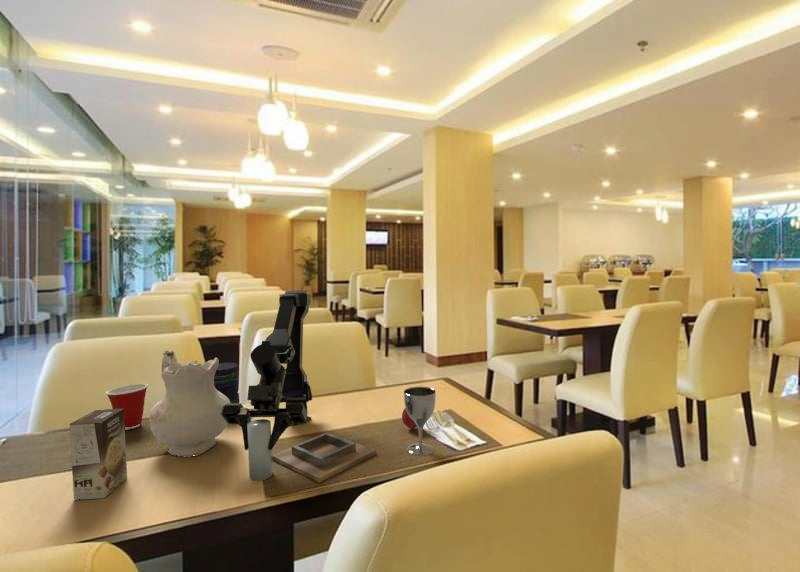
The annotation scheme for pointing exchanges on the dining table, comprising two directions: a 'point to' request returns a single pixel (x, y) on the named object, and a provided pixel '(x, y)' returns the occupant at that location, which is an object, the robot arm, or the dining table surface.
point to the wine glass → (420, 414)
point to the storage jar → (227, 381)
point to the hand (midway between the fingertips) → (257, 449)
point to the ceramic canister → (259, 449)
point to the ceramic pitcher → (188, 407)
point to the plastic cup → (129, 402)
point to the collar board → (323, 456)
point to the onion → (408, 420)
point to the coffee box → (98, 453)
